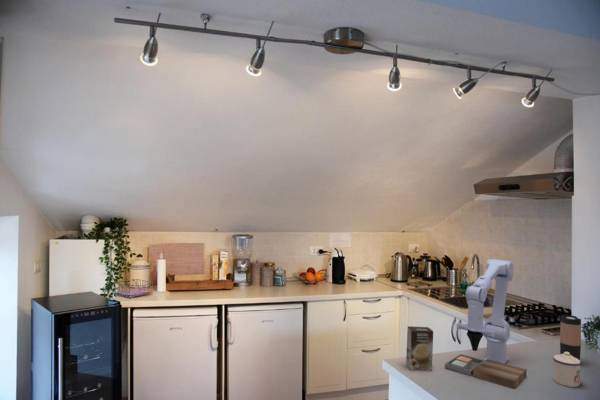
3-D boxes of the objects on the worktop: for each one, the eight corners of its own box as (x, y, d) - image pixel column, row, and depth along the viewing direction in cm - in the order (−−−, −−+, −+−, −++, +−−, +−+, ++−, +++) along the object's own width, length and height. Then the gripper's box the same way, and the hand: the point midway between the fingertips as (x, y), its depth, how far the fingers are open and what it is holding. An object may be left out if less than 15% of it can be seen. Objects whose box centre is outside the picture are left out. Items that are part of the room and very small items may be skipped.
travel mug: (557, 362, 180) (558, 316, 181) (561, 358, 186) (562, 313, 186) (578, 367, 175) (579, 320, 176) (581, 363, 181) (582, 317, 181)
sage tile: (467, 363, 171) (467, 368, 171) (455, 360, 174) (455, 364, 174) (463, 366, 167) (463, 371, 167) (451, 363, 170) (451, 368, 170)
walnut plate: (487, 365, 175) (487, 358, 175) (526, 376, 164) (526, 369, 164) (473, 376, 163) (473, 369, 163) (514, 389, 153) (514, 380, 153)
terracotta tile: (472, 358, 176) (472, 363, 176) (460, 355, 179) (460, 360, 179) (467, 362, 172) (467, 366, 172) (456, 358, 175) (455, 363, 175)
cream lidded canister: (580, 389, 153) (581, 358, 154) (551, 383, 159) (552, 353, 159) (580, 379, 163) (581, 349, 163) (553, 373, 169) (554, 344, 169)
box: (460, 358, 182) (460, 353, 182) (484, 365, 175) (484, 360, 175) (444, 368, 171) (444, 363, 171) (470, 376, 164) (470, 370, 164)
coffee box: (410, 370, 168) (411, 330, 168) (405, 364, 174) (406, 326, 174) (432, 370, 168) (433, 331, 168) (427, 364, 174) (428, 326, 175)
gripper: (453, 314, 169) (453, 347, 169) (490, 322, 159) (490, 357, 159) (460, 311, 174) (459, 343, 174) (497, 318, 164) (496, 353, 164)
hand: (474, 350), depth 167 cm, fingers closed
